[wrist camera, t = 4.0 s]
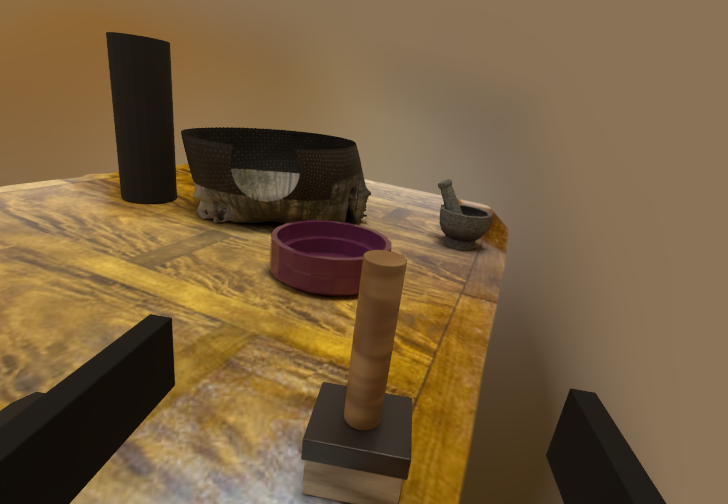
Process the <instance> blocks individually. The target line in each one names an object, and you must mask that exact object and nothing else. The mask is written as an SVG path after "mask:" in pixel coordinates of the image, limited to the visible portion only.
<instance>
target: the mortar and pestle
mask: <svg viewBox="0 0 728 504" xmlns="http://www.w3.org/2000/svg"><path fill="white" fill-rule="evenodd" d="M438 187H439V188H440V189H441V193H442V197H443V201H444V205H441V210H440V226H441V229H442V231H443V232H444V234H445V237H444V244H445V245H447V246H449V247H452V248H455V249H459V250H472V249H475V241H476V240H477V239H479V238H481V237H482V236H483V235H484V234H485V233H486V232H487V231H488V228H489V226H490V223H491V219H492V215H491V213H490V212H487V211H485V210H482V209H480V208H475V207H471V206H466V205H459V203H458V200H457V198H456V195H455V193H454V190H453V188H452V181H451V180H444V181H442V182H440V183H439V184H438Z"/></svg>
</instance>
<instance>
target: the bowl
mask: <svg viewBox="0 0 728 504" xmlns="http://www.w3.org/2000/svg"><path fill="white" fill-rule="evenodd" d="M372 250H385V251H391V242H390V241H389V240H388V239H387V237H386V236H384V235H382V234H380V233H379V232H377V231H375V230H372V229H369V228H366V227H363V226H359V225H355V224H350V223H344V222H337V221H324V220H308V221H297V222H292V223H286V224H284V225H281V226H279V227H276V228H275V229H274V230H273V232H272V233H271V249H270V270H271V272H272V274H273V275H274V276H275V277H276V278H277V279H278V280H280V281H282V282H284V283H286V284H288V285H290V286H292V287H294V288H296V289H298V290H301V291H304V292H308V293H313V294H318V295H326V296H348V295H355V294H359V287H360V279H361V271H362V263H363V255H364V254H365V253H366V252H368V251H372Z"/></svg>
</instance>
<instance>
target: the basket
mask: <svg viewBox="0 0 728 504" xmlns="http://www.w3.org/2000/svg"><path fill="white" fill-rule="evenodd" d="M181 134H182V139H183V144H184V148H185V152H186V155H187V160H188V164H189V168H190V171H191V175H192V178H193V181H194V184H195V193H194V197H195V198H196V199H199V200H200V205H199V206H198V208H197V211H196V213H199V214H198V215H199V217H200V218H202V219H207V218H208V219H214V221H213V222H226V221H232V222H247V223H259V222H263V221H275V222H282V223H292V222H297V221H308V220H324V221H337V222H344V223H345V220H346V218H349V219H350V220H352V221H357V222H358V221H360V219H362V218H363V217H364V216H365V217H366V216H367V215H364V213H363V212H364V211H366V209H365V208H366V204H365V203H367V199H368V196H370V195H371V192H370V191H369V190H368V189H367V188H366V185H365V181H364V177H363V172H362V167H361V161H360V157H359V153H358V150H357V146H356V143H355V142H354V141H351V140H348V139H344V138H340V137H335V136H329V135H322V134H314V133H306V132H296V131H286V130H272V129H256V128H254V129H253V128H228V127H227V128H224V127H223V128H220V127H219V128H195V129H194V128H193V129H186V130H183V131H181ZM221 219H224V220H221Z"/></svg>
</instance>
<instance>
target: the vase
mask: <svg viewBox="0 0 728 504" xmlns="http://www.w3.org/2000/svg"><path fill="white" fill-rule="evenodd" d="M106 37H107V48H108V59H109V69H110V80H111V90H112V101H113V111H114V123H115V133H116V143H117V154H118V164H119V176H120V186H121V197H122V199H124V200H126V201H129V202H133V203H142V204H156V203H166V202H170V201H173V200H175V199H176V198H177V189H176V167H175V146H174V124H173V102H172V81H171V60H170V59H171V58H170V43H169V42H166V41H163V40H158V39H154V38H149V37H143V36H137V35H131V34H123V33H114V32H107V33H106Z"/></svg>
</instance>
